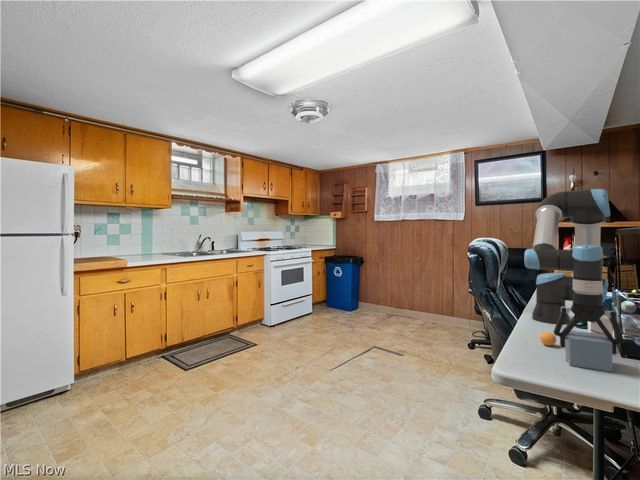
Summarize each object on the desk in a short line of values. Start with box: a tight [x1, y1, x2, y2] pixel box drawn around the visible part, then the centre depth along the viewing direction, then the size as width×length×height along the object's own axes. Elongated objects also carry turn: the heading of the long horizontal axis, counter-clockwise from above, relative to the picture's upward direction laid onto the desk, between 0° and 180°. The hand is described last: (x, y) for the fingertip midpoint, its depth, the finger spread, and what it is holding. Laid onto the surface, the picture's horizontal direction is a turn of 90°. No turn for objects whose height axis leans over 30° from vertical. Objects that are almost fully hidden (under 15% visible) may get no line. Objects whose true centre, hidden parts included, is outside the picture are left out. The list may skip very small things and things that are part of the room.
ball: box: [539, 331, 557, 347], centre depth 121 cm, size 5×5×5 cm
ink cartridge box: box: [591, 314, 610, 336], centre depth 119 cm, size 9×5×15 cm, turn 134°
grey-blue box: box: [566, 330, 613, 373], centre depth 104 cm, size 10×10×9 cm
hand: (587, 360), depth 104 cm, fingers closed on grey-blue box, 10 cm apart
